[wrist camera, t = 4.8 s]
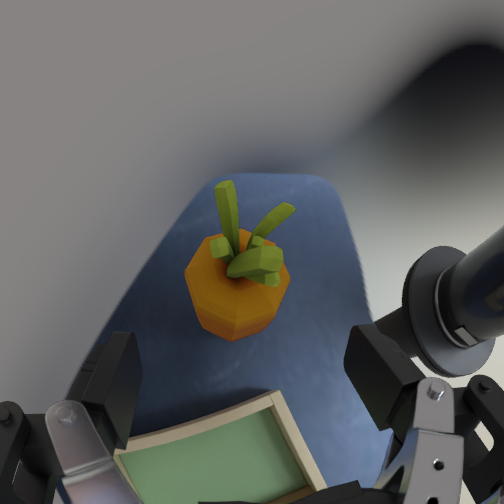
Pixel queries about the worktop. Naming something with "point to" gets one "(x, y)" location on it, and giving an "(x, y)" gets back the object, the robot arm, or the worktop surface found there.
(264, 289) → the carrot
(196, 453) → the sorting tray
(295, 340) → the worktop surface
